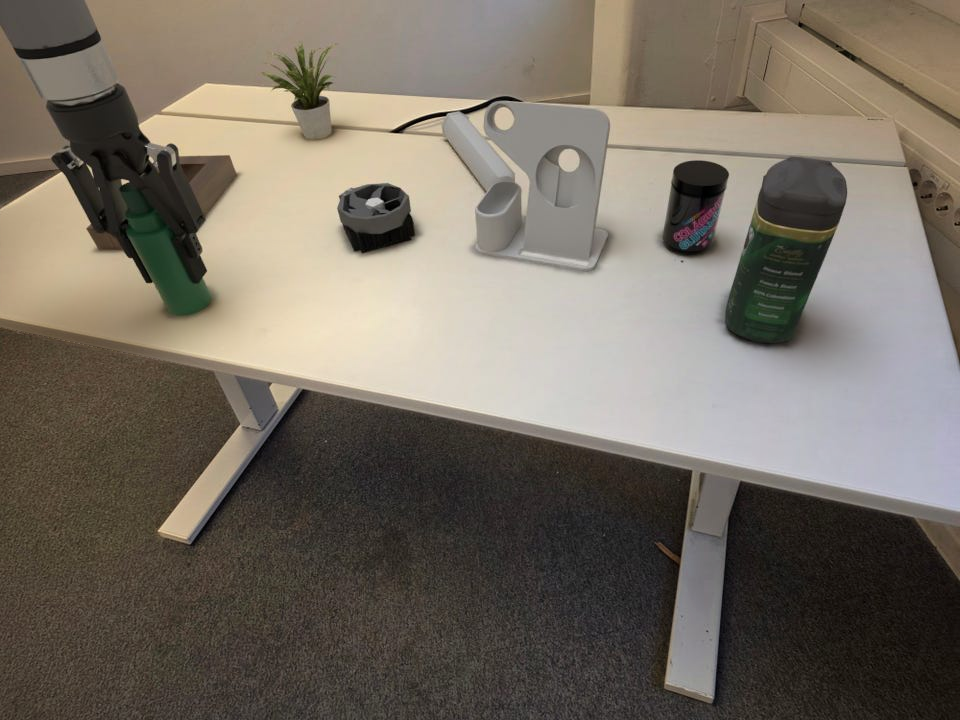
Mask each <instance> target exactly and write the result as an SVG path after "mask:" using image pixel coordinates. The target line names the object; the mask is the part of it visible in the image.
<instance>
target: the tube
mask: <svg viewBox="0 0 960 720" xmlns="http://www.w3.org/2000/svg"><path fill="white" fill-rule="evenodd" d="M441 131H442V137H444V138H446V140H447V141H448V142H449V144H450V145H451V146H452V148H453V149H454V150H455V152H456V153H457V155H458V156H459V157H460V158H461V160H462V161H463V162H464V164H465V165H466V166H467V168H468V169H469V170H470V172H471V173H472V174H473V176H474V177H475V178H476V179H477V181H478V182H479V184H480V185H481V186H482V188H483V189H484V190H485V193H486V192H487V191H488V190H489V188H490V187H491V186H492V185H493V184H495V183H498V182H502V181H510V182H514V183H516V173H515V171H513V169H512V168H511V167H510V166H509V165H508V163H507V162H506V161H505V160H504V158H503V157H501V155H500V154H499V153H498V152H497V151H496V150H495V148H494V147H493V146H492V145H491V143H490V142H489V141H488V139H486V137H484V136H483V134H482V133H481V132H480V131H479V129H478V128H477V127H476V126H475V125H474V124H473V122H472V121H471V120H470V117H469V116H468V115H466V114H465V113H463V112H461V111H459V110H458V111H454V112H453V111H452V112H448V113H447V114H446V116H445V117H444V119H443V121H442V123H441Z"/></svg>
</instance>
